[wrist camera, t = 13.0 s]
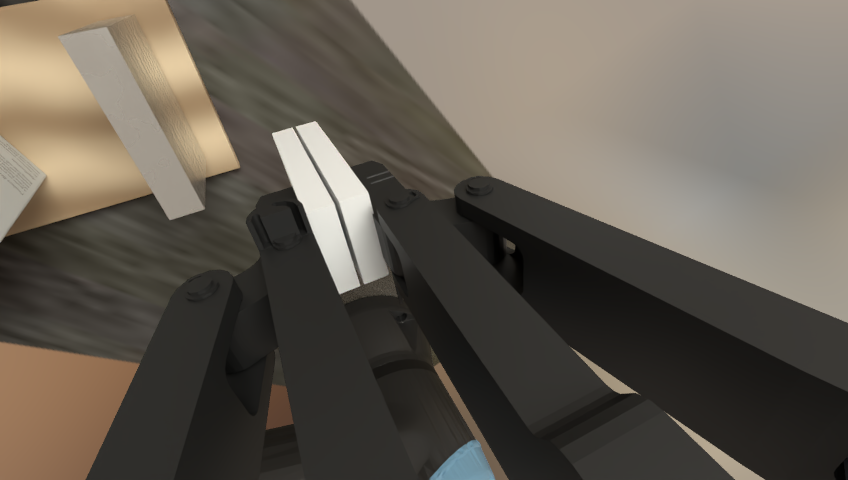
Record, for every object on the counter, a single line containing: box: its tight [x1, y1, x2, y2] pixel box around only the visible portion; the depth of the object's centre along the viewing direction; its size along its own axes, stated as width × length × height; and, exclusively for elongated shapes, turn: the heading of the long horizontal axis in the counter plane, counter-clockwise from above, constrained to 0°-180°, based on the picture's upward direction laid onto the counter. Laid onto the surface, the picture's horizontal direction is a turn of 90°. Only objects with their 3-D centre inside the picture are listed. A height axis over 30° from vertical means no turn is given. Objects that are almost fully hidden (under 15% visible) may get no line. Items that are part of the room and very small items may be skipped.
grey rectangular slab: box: [58, 14, 206, 220], centre depth 25 cm, size 10×2×9 cm, turn 9°
